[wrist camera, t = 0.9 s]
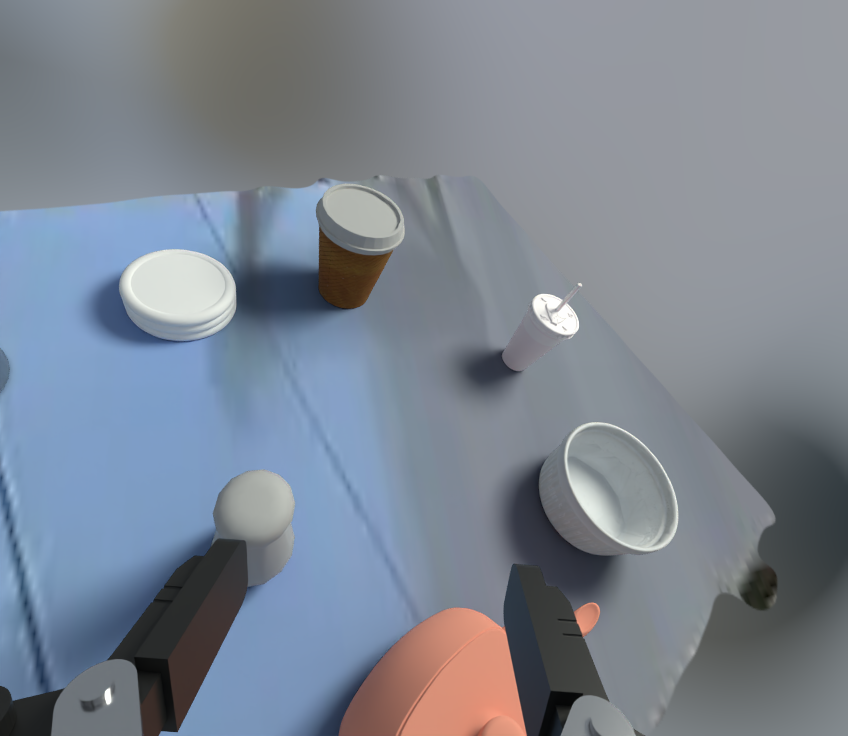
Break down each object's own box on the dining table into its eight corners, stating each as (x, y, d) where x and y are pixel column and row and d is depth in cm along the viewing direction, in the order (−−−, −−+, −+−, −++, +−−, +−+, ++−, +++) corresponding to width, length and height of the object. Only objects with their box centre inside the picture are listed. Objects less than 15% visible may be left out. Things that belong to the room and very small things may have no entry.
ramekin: (510, 513, 42) (548, 492, 36) (547, 425, 50) (583, 398, 45) (617, 593, 41) (672, 584, 35) (636, 490, 49) (684, 470, 44)
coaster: (100, 308, 39) (89, 283, 36) (178, 257, 45) (174, 232, 43) (190, 360, 39) (186, 338, 37) (255, 302, 46) (256, 280, 43)
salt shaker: (283, 593, 31) (299, 564, 21) (202, 590, 30) (179, 557, 20) (297, 515, 35) (316, 459, 25) (225, 509, 33) (214, 446, 23)
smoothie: (538, 355, 57) (606, 285, 46) (531, 388, 53) (603, 319, 42) (498, 333, 56) (557, 258, 46) (488, 365, 52) (550, 290, 41)
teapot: (372, 967, 23) (456, 1180, 14) (269, 756, 26) (279, 813, 17) (559, 679, 34) (672, 688, 25) (471, 557, 38) (543, 526, 28)
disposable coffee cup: (293, 301, 47) (303, 216, 38) (319, 253, 53) (334, 169, 44) (370, 329, 49) (398, 254, 40) (387, 280, 55) (415, 204, 45)
